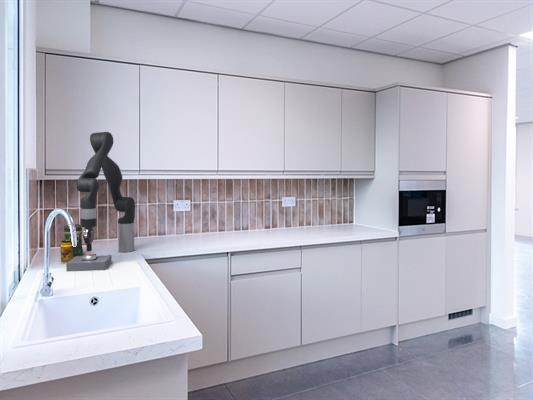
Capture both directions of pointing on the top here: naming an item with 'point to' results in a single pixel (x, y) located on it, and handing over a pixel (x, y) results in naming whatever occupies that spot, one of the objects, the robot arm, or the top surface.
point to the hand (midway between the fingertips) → (89, 250)
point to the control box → (88, 263)
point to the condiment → (66, 251)
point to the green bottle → (78, 249)
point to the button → (89, 257)
